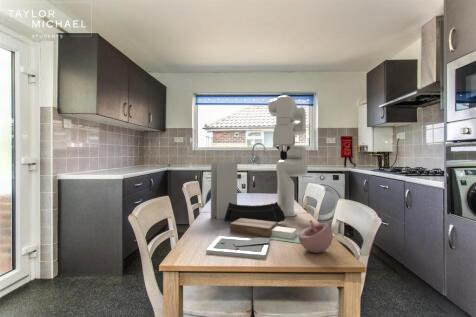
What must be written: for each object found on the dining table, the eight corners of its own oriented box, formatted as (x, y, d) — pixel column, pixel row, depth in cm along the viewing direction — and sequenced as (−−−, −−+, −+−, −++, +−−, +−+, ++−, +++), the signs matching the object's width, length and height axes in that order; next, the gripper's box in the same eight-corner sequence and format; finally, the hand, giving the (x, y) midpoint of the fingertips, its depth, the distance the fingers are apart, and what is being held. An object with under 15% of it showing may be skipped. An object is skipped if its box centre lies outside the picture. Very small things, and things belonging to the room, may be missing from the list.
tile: (276, 231, 126) (276, 226, 126) (296, 234, 122) (296, 228, 122) (271, 235, 120) (271, 230, 120) (292, 238, 116) (292, 232, 116)
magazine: (218, 205, 140) (276, 189, 138) (219, 204, 143) (276, 188, 142) (228, 238, 140) (286, 222, 139) (228, 236, 143) (285, 220, 142)
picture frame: (269, 245, 110) (218, 241, 115) (269, 238, 110) (218, 234, 114) (265, 260, 95) (206, 255, 99) (265, 252, 95) (206, 247, 99)
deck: (240, 226, 136) (240, 217, 136) (276, 230, 128) (276, 222, 128) (229, 232, 125) (229, 223, 125) (268, 238, 117) (268, 228, 117)
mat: (278, 230, 130) (278, 229, 130) (309, 233, 124) (309, 233, 124) (268, 239, 116) (268, 238, 116) (303, 244, 110) (303, 243, 110)
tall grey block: (230, 214, 162) (231, 161, 161) (237, 215, 158) (237, 162, 157) (210, 217, 152) (211, 162, 151) (217, 219, 148) (217, 162, 147)
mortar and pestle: (295, 245, 108) (296, 216, 108) (327, 246, 108) (328, 216, 107) (300, 257, 96) (301, 224, 96) (336, 258, 96) (337, 225, 95)
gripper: (301, 122, 137) (300, 160, 137) (271, 123, 143) (271, 159, 143) (297, 120, 130) (297, 160, 130) (266, 121, 136) (266, 159, 136)
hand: (283, 159), depth 137 cm, fingers closed
